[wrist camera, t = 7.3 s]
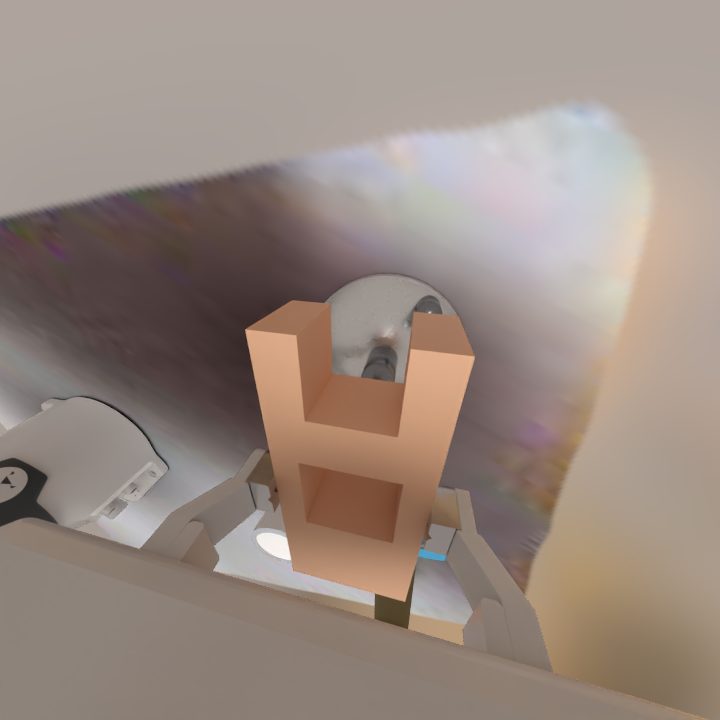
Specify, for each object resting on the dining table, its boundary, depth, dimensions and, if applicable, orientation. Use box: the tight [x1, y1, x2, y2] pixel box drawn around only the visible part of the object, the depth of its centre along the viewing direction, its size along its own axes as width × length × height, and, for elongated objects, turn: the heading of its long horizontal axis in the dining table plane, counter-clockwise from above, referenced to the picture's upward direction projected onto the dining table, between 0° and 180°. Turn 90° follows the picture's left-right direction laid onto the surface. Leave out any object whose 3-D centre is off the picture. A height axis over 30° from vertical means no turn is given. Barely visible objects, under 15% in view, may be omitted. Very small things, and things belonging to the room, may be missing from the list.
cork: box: [375, 565, 416, 629], centre depth 33 cm, size 6×6×11 cm
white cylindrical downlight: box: [251, 503, 292, 563], centre depth 31 cm, size 7×7×7 cm
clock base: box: [325, 273, 458, 383], centre depth 20 cm, size 13×13×6 cm
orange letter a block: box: [245, 300, 475, 602], centre depth 11 cm, size 14×6×3 cm, turn 178°
